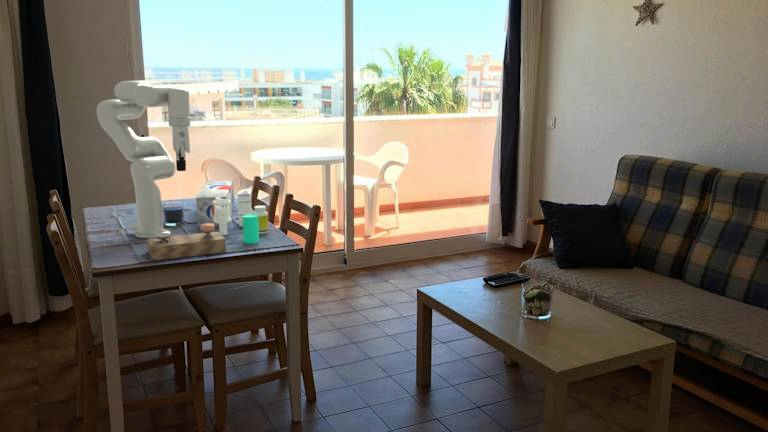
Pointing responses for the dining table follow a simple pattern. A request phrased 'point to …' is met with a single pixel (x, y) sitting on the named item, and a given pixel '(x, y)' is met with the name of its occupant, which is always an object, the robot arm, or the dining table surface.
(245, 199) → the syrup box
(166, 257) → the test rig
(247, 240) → the candle
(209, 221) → the soda pack
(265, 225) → the pill bottle
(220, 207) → the white cylindrical holder
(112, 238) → the dining table surface
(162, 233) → the silver oval piece
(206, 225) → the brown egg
